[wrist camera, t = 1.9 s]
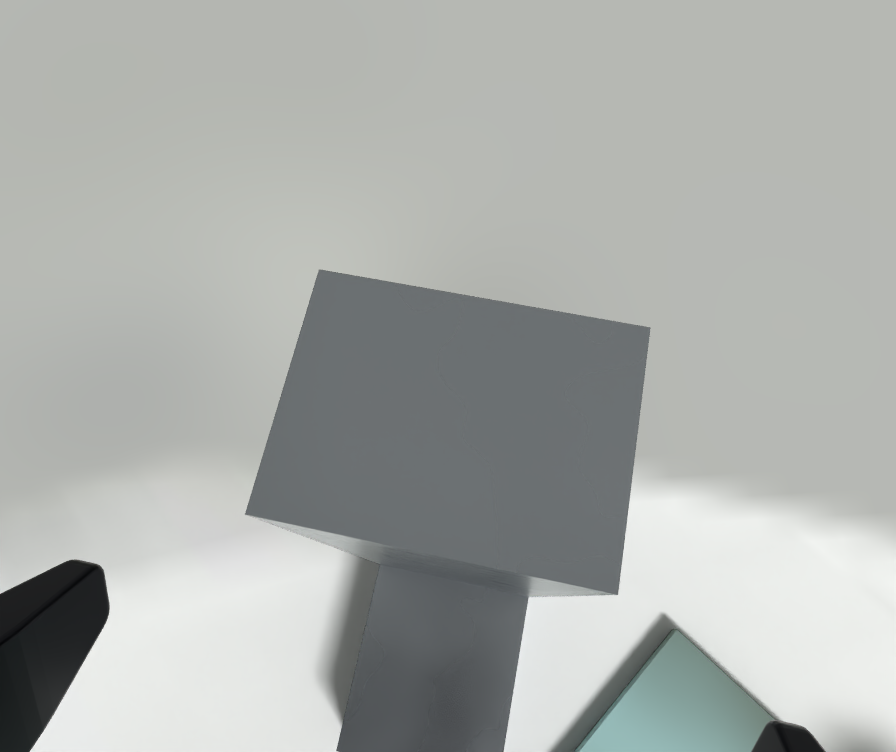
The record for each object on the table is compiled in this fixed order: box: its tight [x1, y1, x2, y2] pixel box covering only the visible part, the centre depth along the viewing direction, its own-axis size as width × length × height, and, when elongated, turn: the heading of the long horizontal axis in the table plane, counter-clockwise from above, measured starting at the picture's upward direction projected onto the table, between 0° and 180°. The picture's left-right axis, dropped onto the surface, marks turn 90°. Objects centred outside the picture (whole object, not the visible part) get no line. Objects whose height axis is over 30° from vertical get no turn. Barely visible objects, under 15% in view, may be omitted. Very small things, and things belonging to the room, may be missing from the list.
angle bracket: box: [245, 270, 650, 752], centre depth 13 cm, size 8×4×12 cm, turn 168°
